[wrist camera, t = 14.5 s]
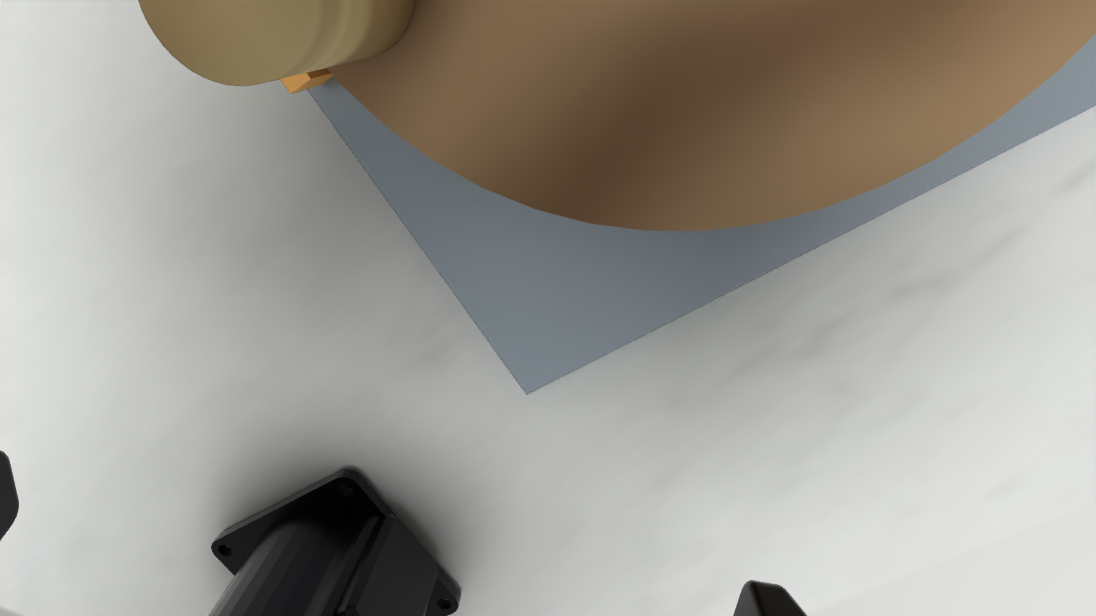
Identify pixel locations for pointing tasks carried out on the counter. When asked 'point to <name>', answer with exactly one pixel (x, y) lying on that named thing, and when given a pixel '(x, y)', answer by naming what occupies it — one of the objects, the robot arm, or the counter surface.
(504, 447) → the counter surface
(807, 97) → the cam dial
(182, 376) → the counter surface
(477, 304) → the base plate
